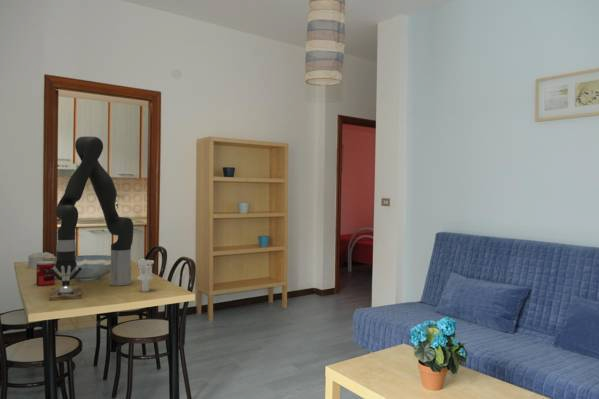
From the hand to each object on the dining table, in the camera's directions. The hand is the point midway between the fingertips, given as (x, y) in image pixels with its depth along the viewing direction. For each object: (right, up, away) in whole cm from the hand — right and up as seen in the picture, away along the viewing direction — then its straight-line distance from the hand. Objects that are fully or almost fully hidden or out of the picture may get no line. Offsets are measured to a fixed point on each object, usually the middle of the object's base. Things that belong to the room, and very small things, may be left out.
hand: (65, 289), depth 203 cm
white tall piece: (+31, -3, +11) cm, 33 cm away
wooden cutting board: (0, -3, 0) cm, 2 cm away
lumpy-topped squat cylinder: (-51, -1, +71) cm, 88 cm away
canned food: (-20, -2, +21) cm, 29 cm away
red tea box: (-25, -2, +33) cm, 42 cm away
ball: (+2, 0, -4) cm, 4 cm away
